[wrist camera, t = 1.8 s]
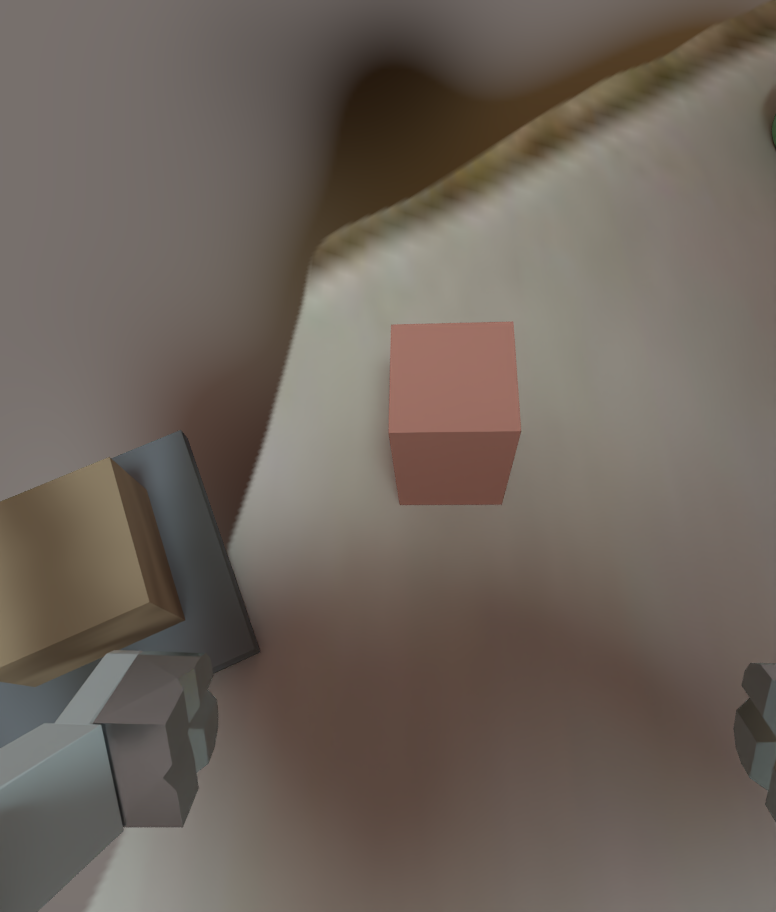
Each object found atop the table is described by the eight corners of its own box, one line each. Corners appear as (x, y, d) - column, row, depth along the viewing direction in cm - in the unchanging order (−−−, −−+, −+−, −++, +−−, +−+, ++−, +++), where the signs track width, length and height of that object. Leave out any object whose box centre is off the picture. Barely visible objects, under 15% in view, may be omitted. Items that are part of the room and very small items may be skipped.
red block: (496, 414, 33) (513, 321, 26) (501, 504, 31) (521, 431, 24) (401, 415, 34) (391, 324, 27) (399, 504, 32) (388, 432, 25)
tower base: (187, 438, 34) (149, 390, 30) (260, 651, 29) (227, 634, 25) (-35, 530, 33) (-111, 495, 28) (2, 769, 28) (-82, 773, 23)
